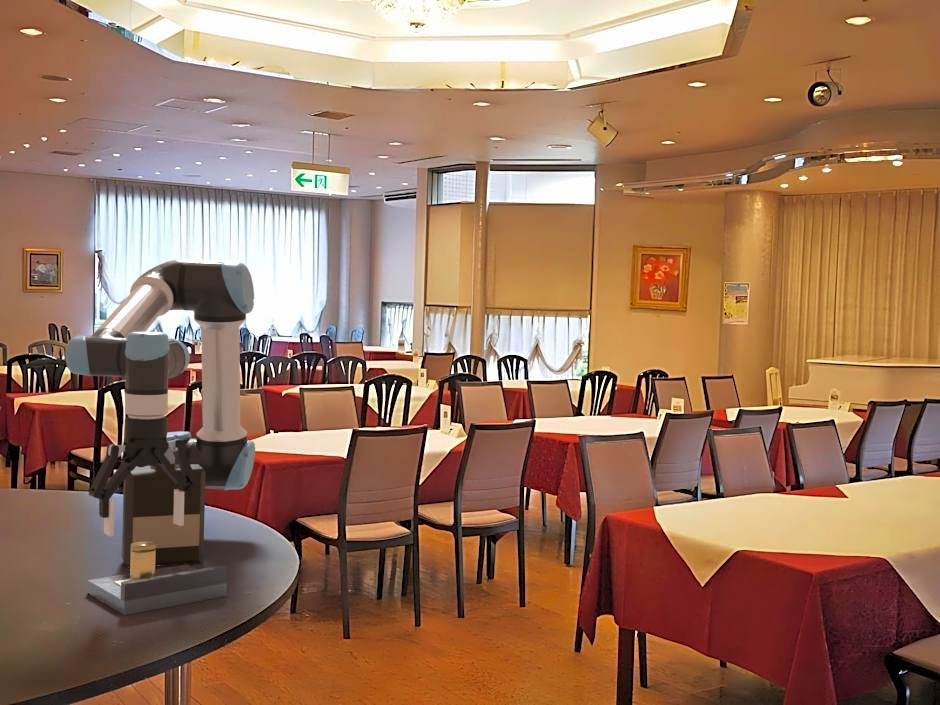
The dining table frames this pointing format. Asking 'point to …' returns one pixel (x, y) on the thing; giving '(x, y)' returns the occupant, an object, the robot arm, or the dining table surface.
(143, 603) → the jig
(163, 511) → the brown box
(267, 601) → the dining table surface
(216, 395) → the robot arm
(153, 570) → the gold cylinder
